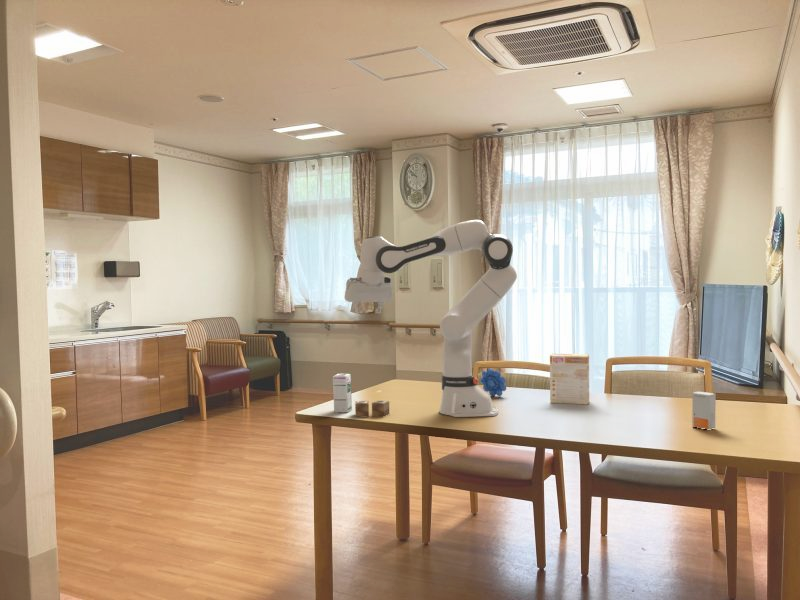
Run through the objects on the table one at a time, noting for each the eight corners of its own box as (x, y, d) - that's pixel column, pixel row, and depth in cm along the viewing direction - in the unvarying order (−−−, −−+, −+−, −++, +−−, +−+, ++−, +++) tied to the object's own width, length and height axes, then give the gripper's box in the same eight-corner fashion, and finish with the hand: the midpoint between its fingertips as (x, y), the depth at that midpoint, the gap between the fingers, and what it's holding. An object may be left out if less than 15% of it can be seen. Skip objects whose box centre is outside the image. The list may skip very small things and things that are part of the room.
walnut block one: (368, 413, 250) (368, 400, 249) (368, 416, 245) (368, 402, 244) (355, 414, 249) (355, 400, 249) (355, 417, 244) (355, 403, 244)
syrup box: (348, 412, 252) (347, 375, 251) (333, 412, 253) (332, 375, 252) (352, 409, 257) (351, 373, 257) (337, 409, 258) (336, 373, 258)
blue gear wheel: (477, 397, 279) (476, 369, 279) (482, 394, 285) (481, 367, 285) (503, 398, 274) (503, 370, 274) (507, 396, 280) (507, 368, 280)
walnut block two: (389, 414, 249) (389, 400, 248) (384, 416, 244) (384, 402, 244) (377, 413, 250) (377, 399, 250) (372, 416, 246) (371, 402, 246)
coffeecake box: (589, 401, 266) (589, 354, 265) (588, 405, 259) (587, 356, 258) (552, 399, 271) (552, 353, 270) (549, 402, 265) (549, 355, 264)
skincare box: (691, 427, 219) (691, 392, 219) (698, 425, 222) (698, 391, 221) (709, 431, 214) (709, 395, 214) (716, 429, 217) (716, 393, 216)
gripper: (351, 278, 242) (348, 314, 244) (396, 279, 254) (393, 314, 255) (342, 276, 247) (340, 312, 249) (387, 277, 259) (384, 312, 260)
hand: (367, 313), depth 252 cm, fingers open, 8 cm apart
